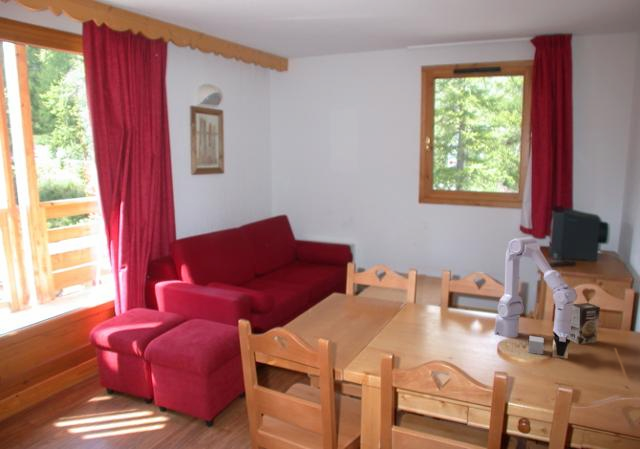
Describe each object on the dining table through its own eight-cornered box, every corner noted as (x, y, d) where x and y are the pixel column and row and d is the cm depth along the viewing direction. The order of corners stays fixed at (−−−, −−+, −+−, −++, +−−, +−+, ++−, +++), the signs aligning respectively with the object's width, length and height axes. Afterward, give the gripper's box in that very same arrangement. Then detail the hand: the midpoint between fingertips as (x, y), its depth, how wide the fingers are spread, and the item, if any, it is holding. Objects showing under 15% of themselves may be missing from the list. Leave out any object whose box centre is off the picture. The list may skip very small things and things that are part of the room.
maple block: (552, 356, 182) (553, 344, 181) (552, 351, 186) (553, 339, 186) (567, 359, 180) (568, 346, 179) (566, 353, 184) (567, 341, 184)
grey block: (528, 352, 185) (529, 340, 184) (528, 347, 190) (529, 335, 189) (542, 354, 183) (543, 342, 182) (542, 349, 188) (543, 337, 187)
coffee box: (578, 347, 193) (582, 309, 191) (566, 340, 200) (570, 303, 197) (596, 344, 196) (600, 307, 193) (584, 338, 202) (588, 302, 199)
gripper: (576, 327, 173) (573, 362, 175) (573, 314, 186) (570, 347, 188) (554, 324, 175) (551, 358, 178) (553, 311, 188) (550, 344, 191)
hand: (559, 352), depth 183 cm, fingers closed on maple block, 5 cm apart
